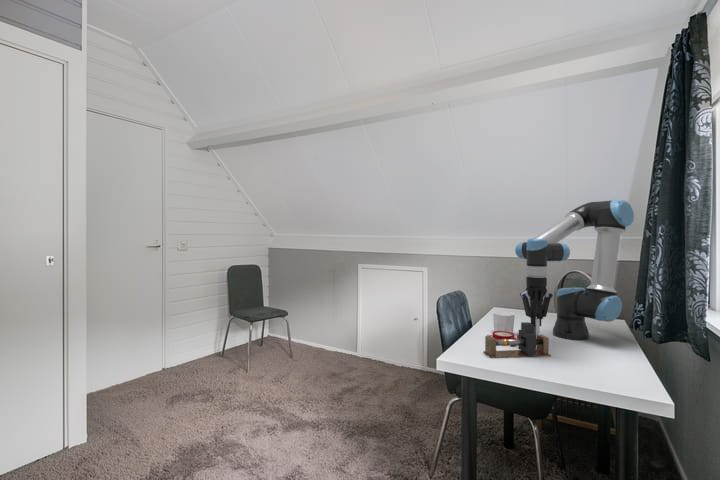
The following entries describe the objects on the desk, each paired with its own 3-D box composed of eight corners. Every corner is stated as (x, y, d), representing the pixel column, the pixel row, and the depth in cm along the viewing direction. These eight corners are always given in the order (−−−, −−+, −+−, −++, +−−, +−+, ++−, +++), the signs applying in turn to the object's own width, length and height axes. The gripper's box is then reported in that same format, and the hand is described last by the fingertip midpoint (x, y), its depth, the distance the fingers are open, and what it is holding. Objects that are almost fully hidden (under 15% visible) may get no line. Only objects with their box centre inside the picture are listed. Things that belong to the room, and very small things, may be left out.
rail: (540, 350, 155) (541, 333, 155) (551, 356, 148) (551, 338, 148) (483, 352, 152) (483, 335, 152) (490, 358, 145) (491, 340, 145)
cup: (489, 333, 181) (489, 313, 181) (497, 329, 189) (497, 310, 189) (510, 337, 175) (510, 316, 175) (517, 333, 182) (517, 313, 182)
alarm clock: (494, 329, 176) (526, 328, 165) (497, 343, 175) (529, 342, 165) (484, 334, 168) (517, 332, 158) (487, 348, 167) (520, 347, 157)
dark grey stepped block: (525, 348, 155) (525, 321, 154) (536, 354, 147) (536, 325, 146) (518, 348, 154) (518, 321, 154) (528, 355, 146) (529, 326, 146)
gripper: (546, 275, 155) (545, 331, 155) (516, 275, 153) (515, 332, 154) (557, 277, 147) (556, 336, 148) (526, 277, 146) (525, 337, 146)
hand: (535, 334), depth 151 cm, fingers closed
